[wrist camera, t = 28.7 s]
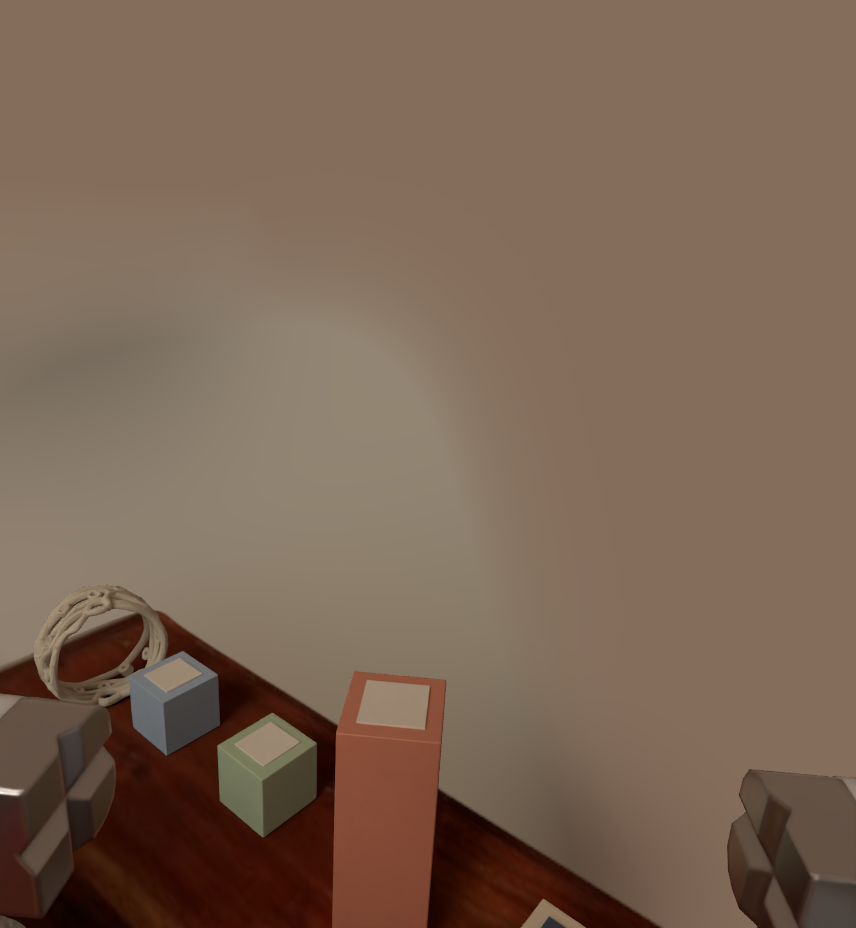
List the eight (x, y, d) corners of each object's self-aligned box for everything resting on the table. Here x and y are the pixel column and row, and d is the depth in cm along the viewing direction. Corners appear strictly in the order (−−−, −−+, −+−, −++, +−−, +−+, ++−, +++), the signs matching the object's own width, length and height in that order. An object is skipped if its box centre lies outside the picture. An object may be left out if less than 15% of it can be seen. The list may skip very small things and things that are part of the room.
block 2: (316, 798, 42) (317, 741, 41) (262, 839, 39) (261, 779, 38) (273, 765, 45) (272, 710, 43) (219, 801, 42) (216, 743, 40)
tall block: (431, 869, 38) (446, 677, 34) (425, 950, 34) (441, 741, 30) (348, 860, 38) (353, 668, 34) (331, 939, 34) (335, 731, 30)
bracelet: (36, 705, 49) (22, 602, 46) (150, 662, 54) (143, 568, 52) (56, 735, 46) (41, 628, 44) (174, 687, 51) (167, 589, 49)
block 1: (220, 725, 48) (218, 673, 47) (166, 756, 45) (162, 701, 44) (185, 699, 50) (182, 649, 49) (132, 727, 47) (128, 674, 46)
